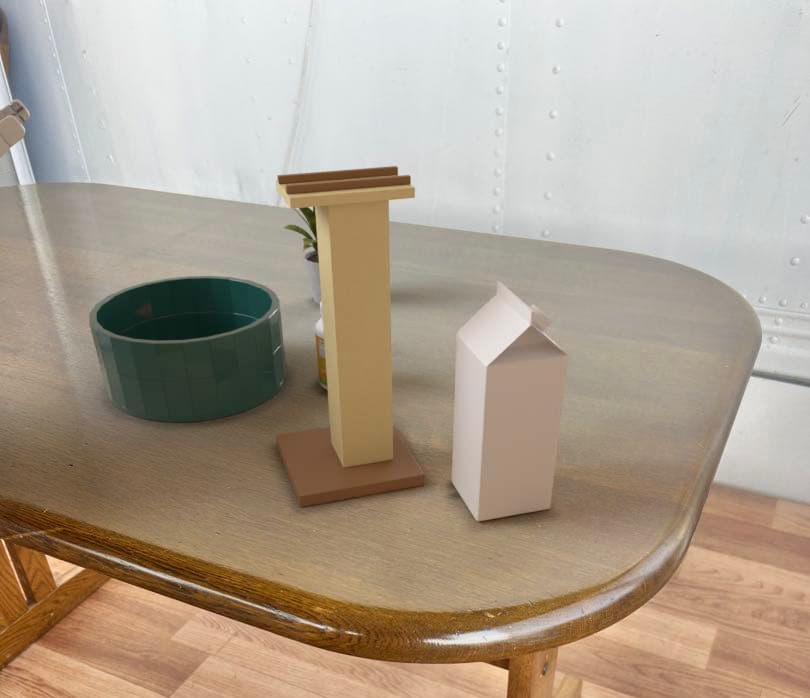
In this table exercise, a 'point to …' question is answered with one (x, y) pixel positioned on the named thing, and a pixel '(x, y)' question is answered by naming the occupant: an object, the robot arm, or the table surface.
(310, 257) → the house plant
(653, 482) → the table surface
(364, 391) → the stand
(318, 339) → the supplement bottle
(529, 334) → the milk carton
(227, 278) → the pot
